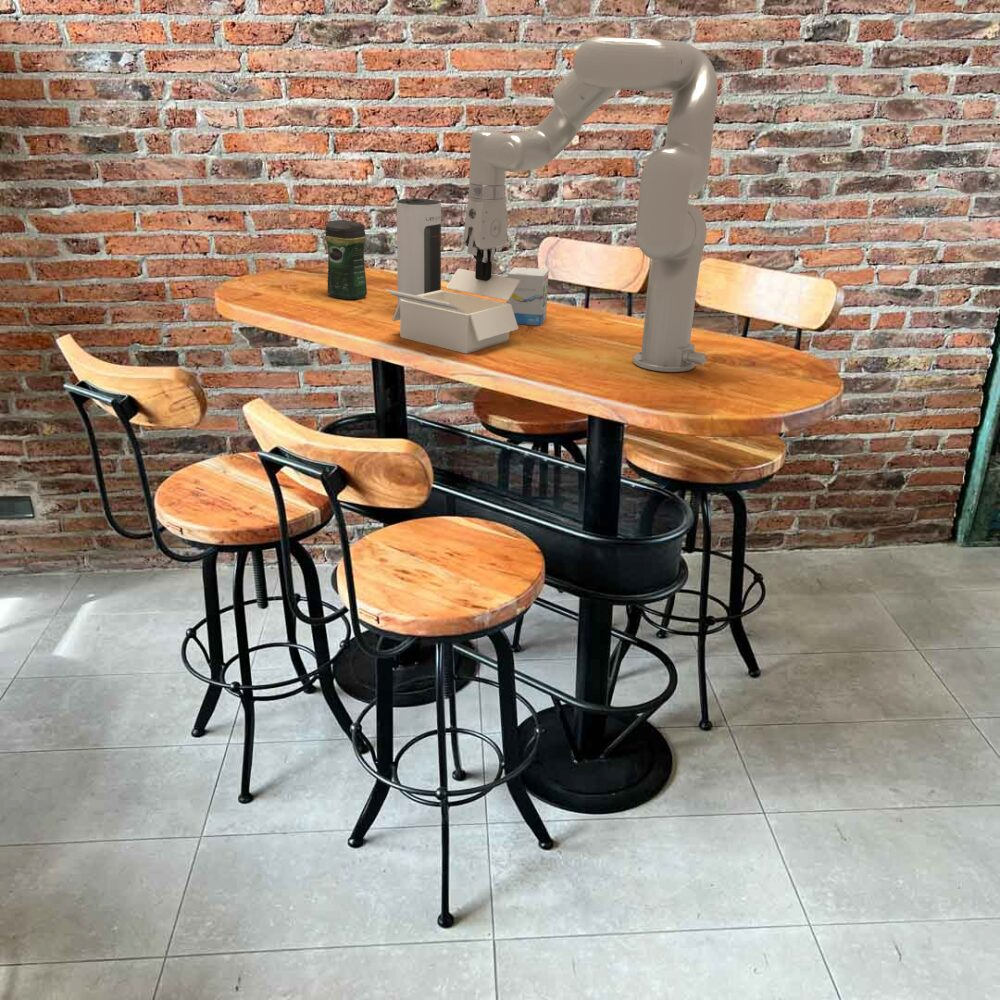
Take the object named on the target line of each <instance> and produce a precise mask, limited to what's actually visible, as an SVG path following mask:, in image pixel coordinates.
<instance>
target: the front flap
mask: <svg viewBox="0 0 1000 1000" xmlns="http://www.w3.org/2000/svg"><path fill="white" fill-rule="evenodd" d="M385 292H386V293H387V292H388V293H389V294H391V295H392V296H395V297H397V298H398V297H399V298H401V299H404V300H408V301H413V302H417V303H422V304H427V305H431V306H436V307H440V308H445V309H449V310H454V311H459V312H463V313H465V311H464V310H463V309H461V308H459V307H457V306H455V305H453V304H452V303H450V302H445V301H440V300H436V299H431V298H426V297H421V296H417V295H412V294H407V293H403V292H398V290H393V289H392V290H391V289H388V288H387V289H385Z"/></svg>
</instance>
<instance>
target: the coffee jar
mask: <svg viewBox="0 0 1000 1000" xmlns="http://www.w3.org/2000/svg"><path fill="white" fill-rule="evenodd" d="M324 235H325V240H326V245H327V254H328V255H327V256H328V257H327V259H328V262H327V263H328V264H327V295H329V296H330V297H334V298H338V299H341V300H352V299H356V300H359V299H363V298H365V297H366V296H367V294H368V290H367V289H368V288H367V287H368V285H367V278H366V277H367V276H366V268H365V254H364V251H365V250H364V249H365V243H366V238H367V237H366V229H365V226H364V224H363V223H362V222H357V221H352V220H345V219H337V220H336V219H335V220H329V221H328V222H327V223H326V226H325V234H324Z"/></svg>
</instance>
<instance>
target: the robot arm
mask: <svg viewBox="0 0 1000 1000" xmlns="http://www.w3.org/2000/svg"><path fill="white" fill-rule="evenodd" d="M718 88H719V87H718V77H717V74H716V70H715V68H714V66H713V64H712V62H711V60H710V59H709V57H708V56H707V55H706V54H705V53H704V52H702V51H701V50H699V48H697V47H695V46H694V45H691V44H689V43H687V42H683V41H679V40H669V39H668V40H666V39H659V38H658V39H656V38H629V37H628V38H627V37H624V38H622V37H610V36H603V35H602V36H601V35H599V36H597V35H596V36H594V37H590V38H587V39H586V40H585V41H584V42H582V43H581V44H580V45H579V47H578V48H577V49H576V51H575V53H574V57H573V70H571V72H569V74H568V75H566V76H565V77H564V78H563V79H562V80H561V81H560V82H559V83H558V84H557V85H556V86H555V87H554V89H553V91H552V99H553V102H554V105H553V108H552V109H551V111H550V112H549V114H547V116H546V117H545V118H543V120H542V121H541V122H540V123H539V124H538V125H537V126H536V127H534V128H533V129H532V130H531V131H520V132H511V133H504V132H502V131H500V130H490V129H480V130H479V129H478V130H475V131H474V132H472V134H471V136H470V147H469V148H470V151H469V154H470V155H469V157H470V158H469V182H468V183H469V184H468V188H469V189H468V201H467V206H466V213H465V220H464V221H465V222H464V232H463V233H464V239H463V240H464V244H465V247H467V250H466V252H467V253H466V254H468V255H471V256H473V259H474V261H475V278H476V279H478V280H483V281H488V280H490V278H491V275H492V271H493V269H492V267H493V266H492V264H493V261H494V260H495V259H494V258H495V254H496V253H497V252H498V251H500V250H501V248H502V247H504V246H505V245H506V244H507V243H508V210H507V209H508V208H507V202H506V199H505V187H506V172H510V173H519V172H525V171H533V170H534V171H535V170H538V169H541V168H543V167H545V166H546V165H548V164H549V163H551V162H552V161H553V160H554V159H555V158H556V157H557V156H558V155H559V154H560V153H562V152H563V151H564V150H565V148H567V147H568V146H569V145H570V144H571V142H572V141H573V140H574V139H575V138H576V136H577V134H578V133H579V131H580V130H581V128H582V126H583V124H584V122H586V120H587V119H589V118H590V116H592V115H593V113H595V112H596V111H597V110H598V109H599V108H601V106H602V105H604V103H606V101H608V100H610V98H611V97H612V96H613V95H614V94H615V93H616V92H617V91H619V90H625V91H627V90H628V91H638V92H639V91H641V92H654V93H655V92H670V93H671V94H672V103H671V107H670V109H669V113H668V116H667V117H668V118H667V125H666V126H667V127H666V135H665V143H664V145H663V146H661V147H659V148H657V149H656V150H654V151H653V152H652V153H651V154H650V155H649V157H647V160H645V163H644V166H643V168H642V172H641V176H640V183H639V193H638V203H637V212H636V224H635V237H636V243H637V245H638V248H639V249H640V251H641V252H642V253H643V255H644V256H646V257H647V258H649V259H650V260H651V263H650V268H649V274H648V283H647V291H646V292H647V293H646V300H645V301H646V303H645V313H644V322H643V333H642V342H641V343H642V344H641V351H639V352H637V353H635V354H634V355H633V357H632V362H633V363H634V365H635V366H637V367H640V368H641V369H645V370H649V371H655V372H660V373H661V372H662V373H663V372H665V373H682V372H688V371H691V370H693V369H694V368H695V367H696V365H701V366H704V365H705V364H706V360H707V356H706V353H704V352H699V351H698V352H697V351H696V350H695V343H691V337H692V329H693V321H694V313H695V303H696V295H697V289H698V288H697V287H698V281H699V273H700V267H701V262H702V257H703V254H704V249H705V245H706V240H707V233H708V231H707V230H708V229H707V221H706V218H705V216H704V214H703V213H702V211H701V210H700V209H699V208H698V207H697V206H695V205H693V204H691V203H689V199H690V196H692V195H695V194H697V193H698V192H699V191H701V190H702V189H703V188H704V187H705V184H706V183H707V180H708V177H709V174H710V173H709V172H710V164H711V163H710V161H711V154H712V147H713V146H712V145H713V137H714V125H715V118H716V111H717V103H718V95H719V94H718V93H719V91H718V90H719V89H718Z"/></svg>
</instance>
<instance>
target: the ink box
mask: <svg viewBox="0 0 1000 1000" xmlns="http://www.w3.org/2000/svg"><path fill="white" fill-rule="evenodd" d="M549 274H550V273H549V269H544V268H536V267H525V266H524V267H517V266H515V267H513V268H512V269H511V270H510V271H509V272H508V273H507V278H513V279H518V280H520V283H519V284H518V286H517V288H516V290H515V291H514V293H513V294H512V296H511V298H510V299H509V301H506V302H505V303H507V304H511V306H512V309H513V312H514V316H515V319H516V322H517V325H528V326H539V327H540V326H542V324H543V323H544V322H545V320H546V318H547V307H548V306H547V305H548V290H549V289H548V286H549Z"/></svg>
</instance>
